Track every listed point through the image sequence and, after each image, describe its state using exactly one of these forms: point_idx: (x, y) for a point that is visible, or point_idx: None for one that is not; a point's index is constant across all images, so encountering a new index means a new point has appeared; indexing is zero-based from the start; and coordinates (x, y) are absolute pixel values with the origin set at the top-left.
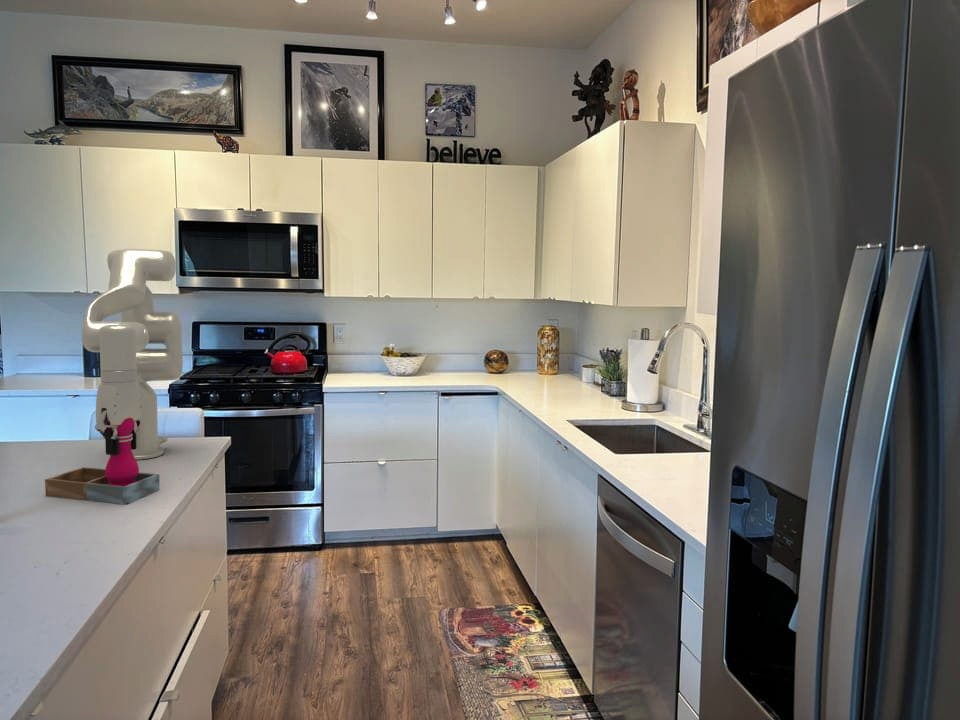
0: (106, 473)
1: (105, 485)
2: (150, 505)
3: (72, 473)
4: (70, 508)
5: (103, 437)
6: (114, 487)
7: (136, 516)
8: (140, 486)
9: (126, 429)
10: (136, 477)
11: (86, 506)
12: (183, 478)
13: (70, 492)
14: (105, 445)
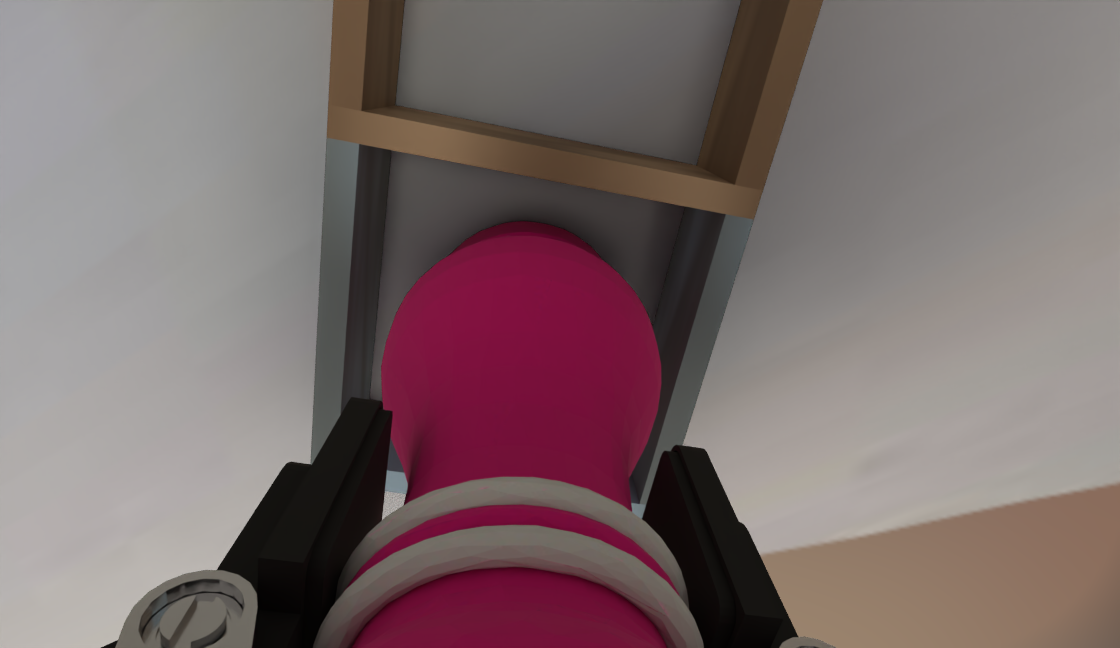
0: (404, 302)
1: (318, 325)
2: None
3: None
4: (179, 119)
5: (156, 595)
6: (316, 396)
7: (186, 552)
8: None
9: None
10: (672, 355)
11: (250, 204)
12: (885, 474)
13: None
14: (312, 463)
